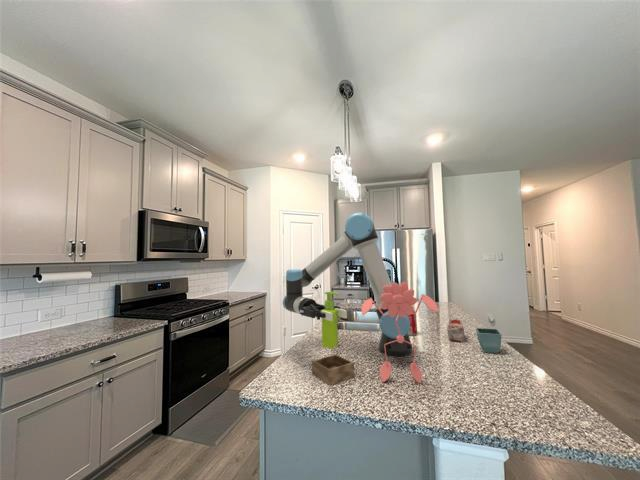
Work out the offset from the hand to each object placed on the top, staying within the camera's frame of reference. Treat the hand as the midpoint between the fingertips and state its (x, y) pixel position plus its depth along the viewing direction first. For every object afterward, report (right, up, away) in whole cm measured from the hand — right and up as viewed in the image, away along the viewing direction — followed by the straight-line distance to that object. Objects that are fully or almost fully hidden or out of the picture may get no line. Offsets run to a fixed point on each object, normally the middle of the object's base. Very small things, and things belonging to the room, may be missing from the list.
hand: (339, 315), depth 99 cm
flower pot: (+69, -23, +24) cm, 76 cm away
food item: (+64, -24, +43) cm, 80 cm away
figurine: (+21, -22, -6) cm, 31 cm away
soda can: (+43, -25, +53) cm, 72 cm away
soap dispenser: (-3, -12, +4) cm, 13 cm away
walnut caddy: (-2, -23, +3) cm, 23 cm away
